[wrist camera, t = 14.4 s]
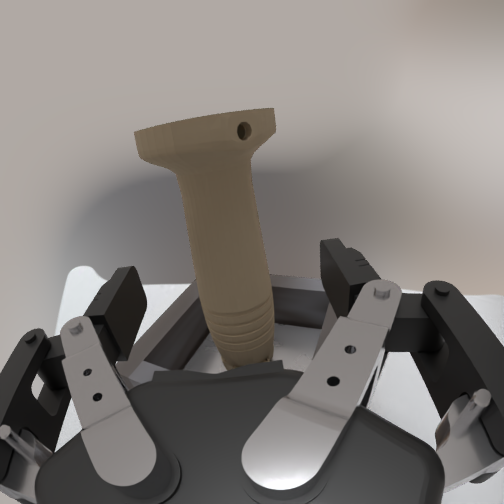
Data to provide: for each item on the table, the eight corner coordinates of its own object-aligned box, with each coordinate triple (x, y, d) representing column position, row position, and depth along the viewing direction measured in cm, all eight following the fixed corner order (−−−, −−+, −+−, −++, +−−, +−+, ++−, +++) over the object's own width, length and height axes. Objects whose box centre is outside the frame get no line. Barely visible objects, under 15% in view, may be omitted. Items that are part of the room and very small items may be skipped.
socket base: (376, 324, 23) (383, 269, 21) (340, 510, 10) (358, 484, 8) (210, 303, 29) (198, 255, 27) (110, 427, 16) (71, 379, 14)
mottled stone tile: (325, 337, 21) (326, 329, 21) (294, 434, 14) (294, 428, 14) (224, 322, 24) (222, 314, 24) (170, 398, 17) (166, 391, 17)
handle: (190, 372, 18) (120, 136, 12) (258, 324, 22) (227, 114, 16) (238, 413, 15) (166, 122, 8) (309, 352, 19) (294, 106, 12)
